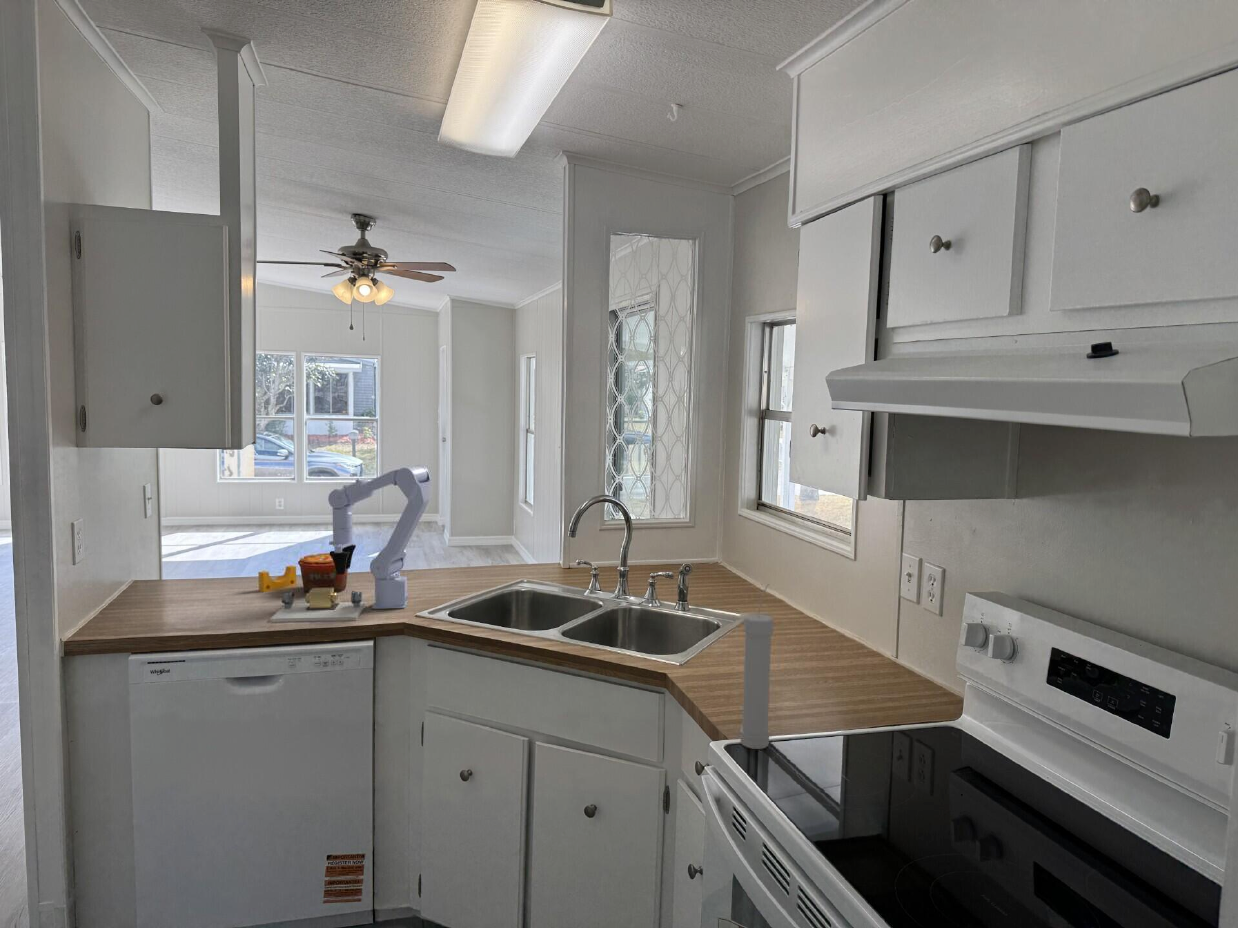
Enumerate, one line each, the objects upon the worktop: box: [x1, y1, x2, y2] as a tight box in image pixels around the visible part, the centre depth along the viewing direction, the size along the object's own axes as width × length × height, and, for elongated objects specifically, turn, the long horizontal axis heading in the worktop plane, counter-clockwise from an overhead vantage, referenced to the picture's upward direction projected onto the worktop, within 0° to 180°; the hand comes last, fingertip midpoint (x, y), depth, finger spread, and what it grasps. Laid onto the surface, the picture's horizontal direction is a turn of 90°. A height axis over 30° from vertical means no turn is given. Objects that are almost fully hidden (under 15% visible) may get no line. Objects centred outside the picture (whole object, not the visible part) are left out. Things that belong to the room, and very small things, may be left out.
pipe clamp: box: [258, 565, 297, 593], centre depth 258 cm, size 12×4×6 cm, turn 149°
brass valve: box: [305, 588, 339, 608], centre depth 232 cm, size 8×4×5 cm, turn 98°
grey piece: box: [739, 583, 774, 750], centre depth 147 cm, size 6×6×30 cm
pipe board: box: [270, 590, 367, 623], centre depth 229 cm, size 23×16×6 cm
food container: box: [297, 552, 349, 594], centre depth 256 cm, size 16×16×11 cm
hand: (343, 571), depth 242 cm, fingers open, 7 cm apart
